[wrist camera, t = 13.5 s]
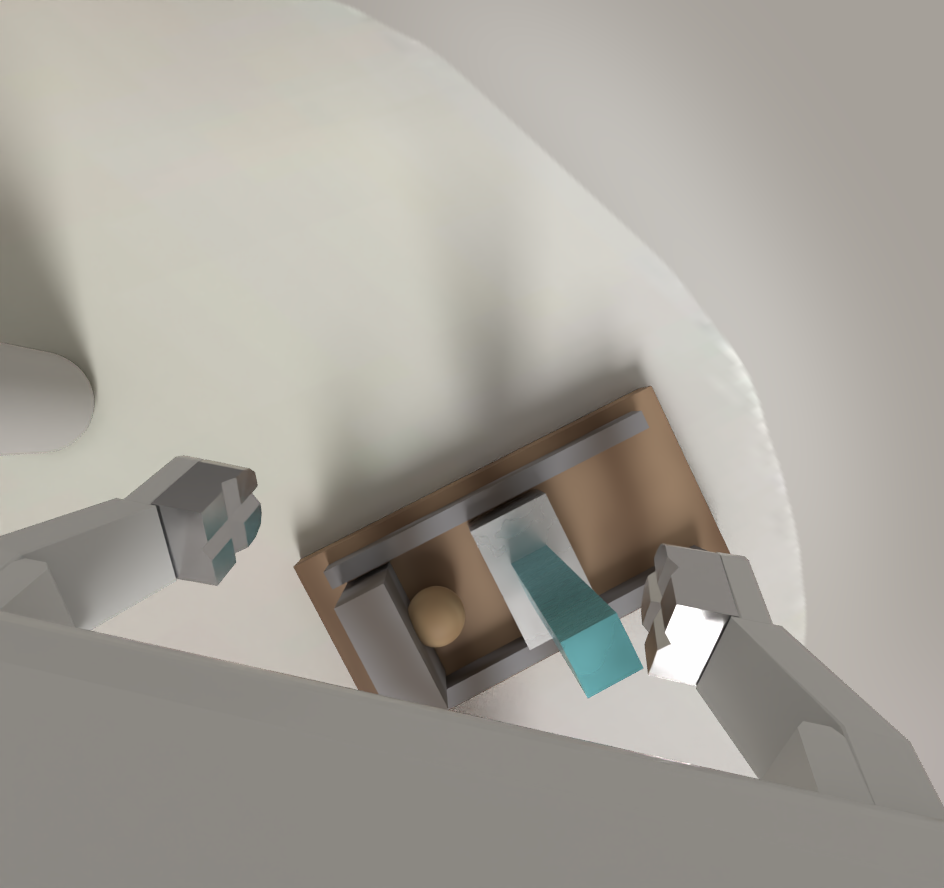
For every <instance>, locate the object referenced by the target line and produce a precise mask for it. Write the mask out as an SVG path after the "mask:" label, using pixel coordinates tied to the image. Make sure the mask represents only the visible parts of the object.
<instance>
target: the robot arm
mask: <svg viewBox="0 0 944 888" xmlns="http://www.w3.org/2000/svg"><path fill="white" fill-rule="evenodd" d="M257 486H258V485H257V480H256V475H255V472H254V471H252V470H251V469H250V468H245V467H240V466H235V465H231V464H226V463H221V462H216V461H211V460H204V459H200V458H195V457H190V456H184V455H183V456H178V457H175V458H174V459H173V460H171V461H170V462H169V463H168V464H166V465H165V466H164V467H163V468H161V469H160V470H159V471H158V472H157V473H155V474H154V475H153V476H152V477H150V478H149V479H148V480H147V481H146V482H144V483H143V484H142V485H141V486H139V487H138V488H137V489H136V490H134V491H133V492H132V493H131V494H130V495H128V496H127V497H126V498H125V499H118V498H115V499H112V500H109V501H106V502H103V503H100V504H97V505H94V506H91V507H88V508H85V509H82V510H78V511H75V512H72V513H69V514H66V515H63V516H60V517H57V518H54V519H51V520H48V521H45V522H42V523H39V524H36V525H33V526H30V527H27V528H24V529H21V530H17V531H14V532H11V533H8V534H5V535H2V536H0V888H944V807H943V804H942V803H941V800H940V799H939V797H938V795H937V793H936V791H935V789H934V787H933V785H932V783H931V781H930V780H929V777H928V776H927V773H926V772H925V770H924V768H923V766H922V764H921V762H920V760H919V758H918V756H917V754H916V752H915V750H914V748H913V746H912V744H911V743H910V741H908V739H906V738H905V737H904V736H903V735H902V734H901V733H900V732H899V731H898V730H896V729H895V728H894V727H893V726H892V725H891V724H890V723H888V721H886V720H885V719H884V718H883V717H882V716H881V715H879V713H878V712H876V711H875V710H874V709H873V708H872V707H871V706H870V705H869V704H868V703H866V702H865V701H864V700H863V699H862V698H861V697H859V695H857V693H855V692H854V691H853V690H852V689H851V688H850V687H849V686H848V685H847V684H845V683H844V682H843V681H842V680H841V679H840V678H839V677H837V676H836V675H835V674H834V673H833V672H832V671H831V670H830V669H829V668H827V666H825V665H824V664H823V663H822V662H821V661H820V660H819V659H818V658H817V657H815V656H814V655H813V654H812V653H811V652H810V651H809V650H808V649H806V648H805V647H804V646H803V645H802V644H801V643H800V642H799V641H798V640H797V639H795V638H794V637H793V636H792V635H791V634H790V633H789V632H788V631H787V630H785V629H784V628H783V627H782V626H779V625H774V624H773V623H772V620H771V618H770V615H769V612H768V610H767V607H766V604H765V602H764V599H763V597H762V594H761V591H760V589H759V586H758V583H757V581H756V578H755V575H754V573H753V570H752V568H751V565H750V562H749V560H748V559H747V558H746V557H745V556H739V555H732V554H726V553H720V552H716V553H714V552H709V551H703V550H698V549H692V548H686V547H681V546H675V545H669V544H664V543H661V544H660V546H659V547H658V549H657V552H656V554H655V557H654V563H655V570H656V571H655V572H653V573H652V574H650V575H649V576H648V577H647V580H646V583H645V586H644V590H643V596H642V603H641V615H642V625H643V626H644V627H645V629H646V630H647V631H648V632H649V634H648V636H647V639H646V642H645V652H646V661H647V669H648V675H650V676H655V677H659V678H663V679H668V680H672V681H676V682H680V683H685V684H689V685H693V686H697V687H696V689H697V691H698V692H699V694H700V695H701V697H702V698H703V699H704V701H705V702H706V704H707V705H708V707H709V708H710V709H711V711H712V712H713V714H714V715H715V717H716V718H717V720H718V721H719V722H720V724H721V725H722V727H723V728H724V730H725V731H726V732H727V734H728V735H729V737H730V738H731V740H732V741H733V743H734V744H735V745H736V747H737V748H738V750H739V751H740V753H741V754H742V755H743V757H744V758H745V760H746V761H747V763H748V764H749V766H750V767H751V768H752V770H753V771H754V773H755V774H756V776H757V777H758V778H759V779H756V778H751V777H747V776H742V775H738V774H733V773H729V772H724V771H720V770H715V769H711V768H706V767H702V766H697V765H693V764H688V763H684V762H679V761H675V760H670V759H666V758H661V757H657V756H652V755H648V754H643V753H639V752H634V751H630V750H625V749H621V748H616V747H612V746H607V745H603V744H598V743H594V742H589V741H585V740H580V739H576V738H571V737H567V736H562V735H558V734H553V733H549V732H544V731H540V730H536V729H531V728H527V727H522V726H518V725H513V724H509V723H504V722H500V721H495V720H491V719H486V718H482V717H477V716H473V715H468V714H464V713H459V712H455V711H450V710H446V709H441V708H437V707H432V706H428V705H423V704H419V703H414V702H410V701H405V700H401V699H396V698H392V697H387V696H383V695H378V694H374V693H369V692H365V691H360V690H356V689H351V688H347V687H342V686H338V685H333V684H329V683H324V682H320V681H315V680H311V679H306V678H302V677H297V676H293V675H288V674H284V673H279V672H275V671H270V670H266V669H261V668H257V667H252V666H248V665H243V664H239V663H234V662H230V661H225V660H221V659H216V658H212V657H207V656H203V655H198V654H194V653H189V652H185V651H180V650H176V649H171V648H167V647H162V646H158V645H153V644H149V643H144V642H140V641H135V640H131V639H126V638H122V637H117V636H113V635H108V634H104V633H99V632H95V631H90V630H92V629H94V628H95V627H97V626H99V625H101V624H102V623H104V622H106V621H108V620H109V619H111V618H113V617H115V616H116V615H118V614H120V613H122V612H123V611H125V610H127V609H128V608H130V607H132V606H134V605H135V604H137V603H139V602H141V601H142V600H144V599H146V598H148V597H149V596H151V595H153V594H155V593H156V592H158V591H160V590H161V589H163V588H165V587H167V586H168V585H170V584H172V583H174V582H175V581H176V579H182V580H187V581H193V582H199V583H204V584H210V585H215V586H218V584H219V583H220V582H221V581H222V579H223V578H224V577H225V576H226V574H227V573H228V572H229V571H230V569H231V568H232V567H233V566H234V564H235V563H236V557H235V553H237V552H239V551H241V550H243V549H245V548H247V547H249V545H250V544H251V543H252V541H253V540H254V539H255V537H256V535H257V532H258V529H259V527H260V524H261V514H262V512H261V505H260V502H259V501H258V500H257V499H256V497H255V496H254V495H253V494H252V492H253V491H254V490H255V489H256V487H257Z"/></svg>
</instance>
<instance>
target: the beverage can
mask: <svg viewBox="0 0 944 888" xmlns="http://www.w3.org/2000/svg"><path fill="white" fill-rule="evenodd" d="M93 412H94V395H93V390H92V387H91V385H90V383H89V380H88V379H87V377H86V376H85V374H84V373H83V372H82V371H81V369H80V368H79V367H78V366H76V365H75V364H74V363H73V362H71V361H70V360H68V359H66V358H64V357H62V356H60V355H57V354H54V353H50V352H46V351H41V350H36V349H31V348H26V347H21V346H17V345H12V344H7V343H2V342H0V456H3V455H20V454H36V453H49V452H54V451H58V450H61V449H63V448H66V447H67V446H69V445H71V444H72V443H74V442H75V441H76V440H78V439H79V438H80V437H81V436H82V435H83V433H84V432H85V431H86V429H87V428H88V426H89V424H90V422H91V419H92V416H93Z"/></svg>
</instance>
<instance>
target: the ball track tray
mask: <svg viewBox="0 0 944 888" xmlns="http://www.w3.org/2000/svg"><path fill="white" fill-rule="evenodd" d="M535 488H536V489H538V490H540V491H542V492H544V493H546V495H547V497H548V500H549V502H550V504H551V506H552V508H553V510H554V512H555V514H556V516H557V518H558V520H559V522H560V524H561V526H562V528H563V530H564V532H565V534H566V536H567V538H568V540H569V542H570V544H571V546H572V548H573V551H574V553H575V555H576V557H577V559H578V561H579V563H580V565H581V567H582V569H583V571H584V573H585V575H586V577H587V579H588V581H589V583H590V585H591V587H592V589H593V590H594V591H595V592H596V593H597V594H598V595H599V596H600V597H601V598H602V599H603V600H604V601H605V602H606V603H607V604H608V605H609V606H610V607H611V608H612V609H613V610H614V611H615V612H616V613H617V615H618V617H619V619H621V618H622V617H624V616H626V615H628V614H630V613H632V612H634V611H636V610H637V609H639V608H641V603H642V596H643V590H644V586H645V583H646V580H647V577H648V576H649V575H650V574H652V573H653V572H655V571H656V570H655V563H654V557H655V554H656V552H657V549H658V547H659V546H660V544H661V543H664V544H669V545H675V546H681V547H686V548H692V549H698V550H703V551H709V552H714V553H716V552H720V553H726V554H730V552H729V550H728V548H727V546H726V544H725V541H724V539H723V537H722V535H721V533H720V531H719V529H718V527H717V524H716V522H715V520H714V518H713V516H712V514H711V512H710V510H709V507H708V505H707V503H706V501H705V499H704V497H703V495H702V493H701V490H700V488H699V486H698V484H697V482H696V480H695V478H694V475H693V473H692V471H691V469H690V467H689V465H688V463H687V461H686V458H685V456H684V454H683V452H682V450H681V448H680V446H679V444H678V441H677V439H676V437H675V435H674V433H673V431H672V429H671V427H670V424H669V422H668V420H667V418H666V416H665V414H664V412H663V410H662V407H661V405H660V403H659V401H658V399H657V397H656V395H655V393H654V390H653V388H652V386H648V387H643V388H639V389H637V390H635V391H633V392H631V393H629V394H627V395H625V396H623V397H621V398H619V399H617V400H615V401H613V402H611V403H609V404H607V405H605V406H603V407H601V408H599V409H597V410H595V411H593V412H591V413H589V414H588V415H586V416H584V417H582V418H580V419H578V420H576V421H574V422H572V423H570V424H568V425H566V426H564V427H562V428H560V429H558V430H556V431H554V432H552V433H550V434H548V435H546V436H544V437H542V438H540V439H538V440H536V441H534V442H532V443H530V444H528V445H526V446H524V447H522V448H520V449H518V450H516V451H514V452H512V453H510V454H508V455H506V456H504V457H502V458H500V459H498V460H496V461H494V462H492V463H490V464H488V465H486V466H485V467H483V468H481V469H479V470H477V471H475V472H473V473H471V474H469V475H467V476H465V477H463V478H461V479H459V480H457V481H455V482H453V483H451V484H449V485H447V486H445V487H443V488H441V489H439V490H437V491H435V492H433V493H431V494H429V495H427V496H425V497H423V498H421V499H419V500H417V501H415V502H413V503H411V504H409V505H407V506H405V507H403V508H401V509H399V510H397V511H395V512H393V513H391V514H389V515H387V516H385V517H383V518H382V519H380V520H378V521H376V522H374V523H372V524H370V525H368V526H366V527H364V528H362V529H360V530H358V531H356V532H354V533H352V534H350V535H348V536H346V537H344V538H342V539H340V540H338V541H336V542H334V543H332V544H330V545H328V546H326V547H324V548H322V549H320V550H318V551H316V552H314V553H312V554H310V555H308V556H306V557H304V558H302V559H301V560H300V561H299V562H298V563H297V564H296V565H295V566H294V569H295V571H296V573H297V575H298V576H299V578H300V580H301V582H302V584H303V586H304V588H305V590H306V592H307V593H308V595H309V597H310V599H311V601H312V603H313V605H314V607H315V609H316V611H317V612H318V614H319V616H320V618H321V620H322V622H323V624H324V626H325V628H326V630H327V631H328V633H329V635H330V637H331V639H332V641H333V643H334V645H335V647H336V649H337V650H338V652H339V654H340V656H341V658H342V660H343V662H344V664H345V666H346V667H347V669H348V671H349V673H350V675H351V677H352V679H353V681H354V683H355V685H356V686H357V688H358V690H360V691H365V692H369V693H374V694H378V695H383V696H387V697H392V698H396V699H401V700H405V701H410V702H414V703H419V704H423V705H428V706H432V707H437V708H441V709H446V710H450V709H452V708H454V707H456V706H457V705H459V704H461V703H463V702H465V701H467V700H469V699H471V698H472V697H474V696H476V695H478V694H480V693H482V692H484V691H486V690H487V689H489V688H491V687H493V686H495V685H497V684H499V683H501V682H502V681H504V680H506V679H508V678H510V677H512V676H514V675H516V674H517V673H519V672H521V671H523V670H525V669H527V668H529V667H531V666H532V665H534V664H536V663H538V662H540V661H542V660H544V659H546V658H547V657H549V656H551V655H553V654H555V653H557V652H559V649H558V647H557V646H556V644H555V642H554V641H553V639H550V640H548V641H547V642H545V643H543V644H541V645H539V646H537V647H535V648H533V649H531V650H529V648H528V646H527V644H526V642H525V640H524V638H523V636H522V634H521V632H520V630H519V628H518V626H517V624H516V622H515V620H514V618H513V616H512V614H511V612H510V610H509V608H508V606H507V604H506V602H505V600H504V598H503V596H502V594H501V592H500V590H499V588H498V586H497V584H496V582H495V580H494V578H493V576H492V574H491V572H490V570H489V568H488V566H487V564H486V562H485V560H484V558H483V556H482V554H481V552H480V550H479V548H478V546H477V544H476V542H475V540H474V538H473V536H472V534H471V532H470V530H469V527H468V525H467V523H468V522H470V521H472V520H474V519H476V518H478V517H480V516H482V515H484V514H486V513H488V512H490V511H492V510H493V509H495V508H497V507H499V506H501V505H503V504H505V503H507V502H509V501H511V500H513V499H515V498H517V497H519V496H521V495H523V494H525V493H527V492H529V491H531V490H533V489H535Z"/></svg>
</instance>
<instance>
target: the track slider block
mask: <svg viewBox="0 0 944 888" xmlns="http://www.w3.org/2000/svg"><path fill="white" fill-rule="evenodd" d="M467 525H468V527H469V530H470V532H471V534H472V536H473V538H474V540H475V542H476V544H477V546H478V548H479V550H480V552H481V554H482V556H483V558H484V560H485V562H486V564H487V566H488V568H489V570H490V572H491V574H492V576H493V578H494V580H495V582H496V584H497V586H498V588H499V590H500V592H501V594H502V596H503V598H504V600H505V602H506V604H507V606H508V608H509V610H510V612H511V614H512V616H513V618H514V620H515V622H516V624H517V626H518V628H519V630H520V632H521V634H522V636H523V638H524V640H525V642H526V644H527V646H528V648H529V650H531V649H533V648H535V647H537V646H539V645H541V644H543V643H545V642H547V641H548V640H550V639H553V641H554V642H555V644H556V646H557V647H558V649H559V651H560V652H561V654H562V656H563V657H564V659H565V661H566V662H567V664H568V666H569V668H570V669H571V671H572V673H573V674H574V676H575V678H576V679H577V681H578V683H579V684H580V686H581V688H582V689H583V691H584V693H585V694H586V696H587V698H590V697H591V696H593V695H595V694H597V693H599V692H601V691H602V690H604V689H606V688H608V687H610V686H612V685H614V684H615V683H617V682H619V681H621V680H623V679H625V678H626V677H628V676H630V675H632V674H634V673H636V672H638V671H639V670H641V669H643V666H642V664H641V662H640V660H639V658H638V656H637V654H636V652H635V650H634V648H633V646H632V643H631V641H630V639H629V637H628V635H627V633H626V631H625V629H624V627H623V625H622V623H621V621H620V619H619V617H618V615H617V613H616V612H615V611H614V610H613V609H612V608H611V607H610V606H609V605H608V604H607V603H606V602H605V601H604V600H603V599H602V598H601V597H600V596H599V595H598V594H597V593H596V592H595V591H594V590H593V589H592V587H591V585H590V583H589V581H588V579H587V577H586V575H585V573H584V571H583V569H582V567H581V565H580V563H579V561H578V559H577V557H576V555H575V553H574V551H573V548H572V546H571V544H570V542H569V540H568V538H567V536H566V534H565V532H564V530H563V528H562V526H561V524H560V522H559V520H558V518H557V516H556V514H555V512H554V510H553V508H552V506H551V504H550V502H549V500H548V497H547V495H546V493H544V492H542V491H540V490H538V489H536V488H535V489H533V490H531V491H529V492H527V493H525V494H523V495H521V496H519V497H517V498H515V499H513V500H511V501H509V502H507V503H505V504H503V505H501V506H499V507H497V508H495V509H493V510H492V511H490V512H488V513H486V514H484V515H482V516H480V517H478V518H476V519H474V520H472V521H470V522H468V523H467Z"/></svg>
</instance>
